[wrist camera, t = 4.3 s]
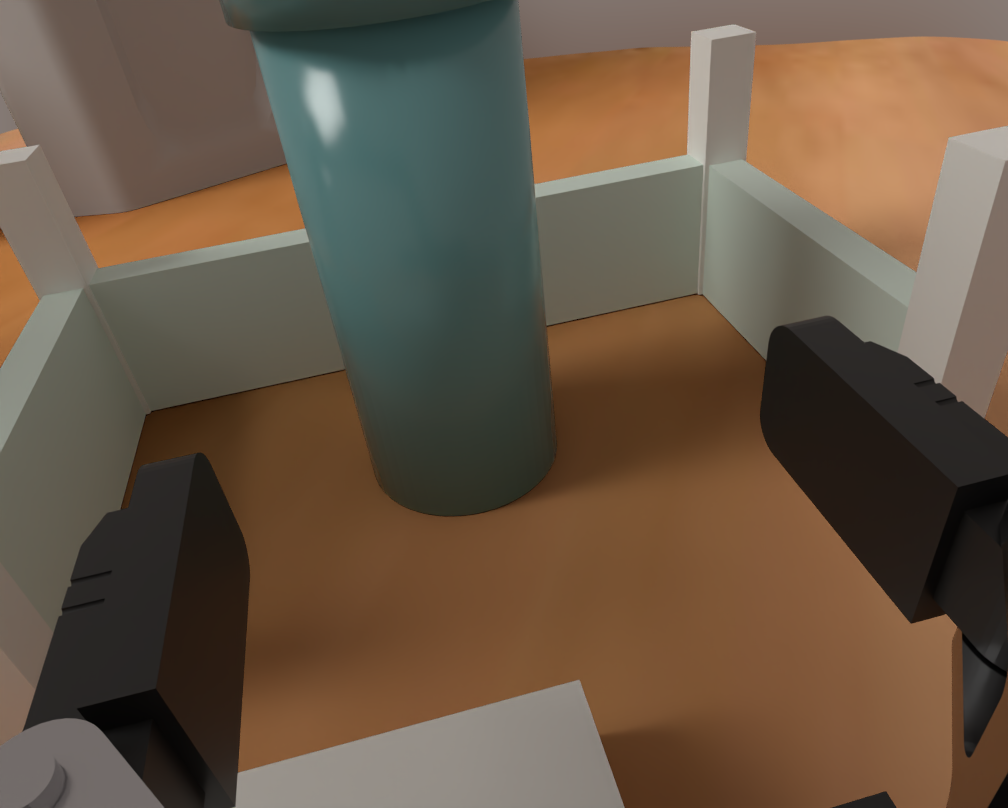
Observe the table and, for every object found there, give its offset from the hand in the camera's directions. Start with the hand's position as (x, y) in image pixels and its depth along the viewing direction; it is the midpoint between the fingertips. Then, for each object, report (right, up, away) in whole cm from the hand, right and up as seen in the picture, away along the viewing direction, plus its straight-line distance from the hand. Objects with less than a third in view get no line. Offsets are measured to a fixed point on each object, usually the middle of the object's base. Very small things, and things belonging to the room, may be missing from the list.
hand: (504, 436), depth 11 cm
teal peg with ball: (-1, -1, +12) cm, 12 cm away
